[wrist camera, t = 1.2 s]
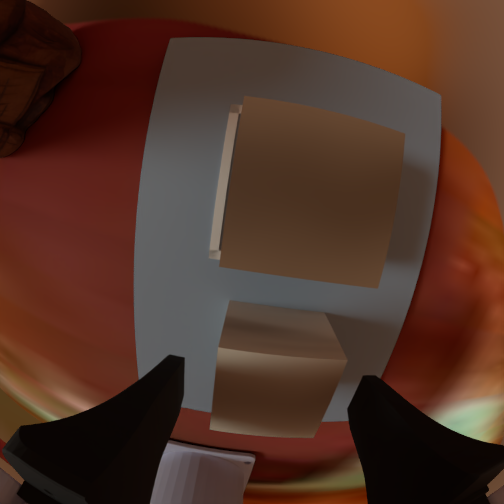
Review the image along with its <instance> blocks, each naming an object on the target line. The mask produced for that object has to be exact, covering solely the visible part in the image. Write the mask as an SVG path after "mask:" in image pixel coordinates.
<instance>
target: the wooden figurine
mask: <svg viewBox="0 0 504 504" xmlns="http://www.w3.org/2000/svg"><path fill="white" fill-rule="evenodd" d="M81 52H82V50H81V48H80V45H79V42H78V40H77V38H76V36H75V35H74V34H73V32H72V31H71V29H70V28H69V27H67V26H65V25H64V24H63V23H61V22H60V21H59V20H57V19H55V18H54V17H52V16H51V15H50V14H49V13H48V12H47V11H45V10H44V9H42V8H40V7H38V6H36V5H35V4H33V3H31V2H29V1H27V0H0V158H2V157H5V156H8V155H10V154H11V153H13V152H14V151H16V150H17V149H18V148H19V147H20V145H21V144H22V143H23V141H24V135H25V131H26V130H27V129H28V127H29V126H30V125H32V124H33V123H34V122H35V121H37V119H38V118H39V116H40V115H41V114H42V113H43V112H44V111H45V110H46V109H47V108H48V107H49V105H50V104H51V102H52V100H53V97H54V88H55V85H56V84H58V83H59V82H60V81H61V80H62V79H64V78H65V77H66V76H68V75H69V74H70V73H71V72H72V71H73V70H74V69H76V68H77V67H78V66H79V65H80V62H81Z"/></svg>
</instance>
